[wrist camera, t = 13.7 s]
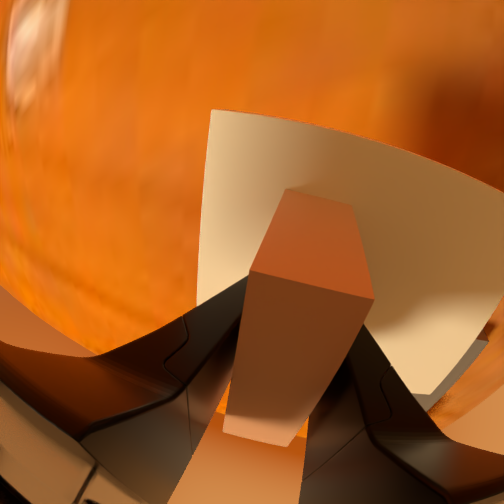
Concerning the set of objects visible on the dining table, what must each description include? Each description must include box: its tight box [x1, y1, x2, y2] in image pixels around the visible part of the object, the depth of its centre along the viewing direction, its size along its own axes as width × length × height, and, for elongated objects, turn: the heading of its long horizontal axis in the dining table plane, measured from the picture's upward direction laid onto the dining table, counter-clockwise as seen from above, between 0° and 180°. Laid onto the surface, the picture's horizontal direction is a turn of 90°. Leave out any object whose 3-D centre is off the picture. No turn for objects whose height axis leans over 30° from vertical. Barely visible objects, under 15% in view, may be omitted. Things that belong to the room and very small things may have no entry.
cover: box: [197, 109, 504, 447], centre depth 8 cm, size 12×10×6 cm
